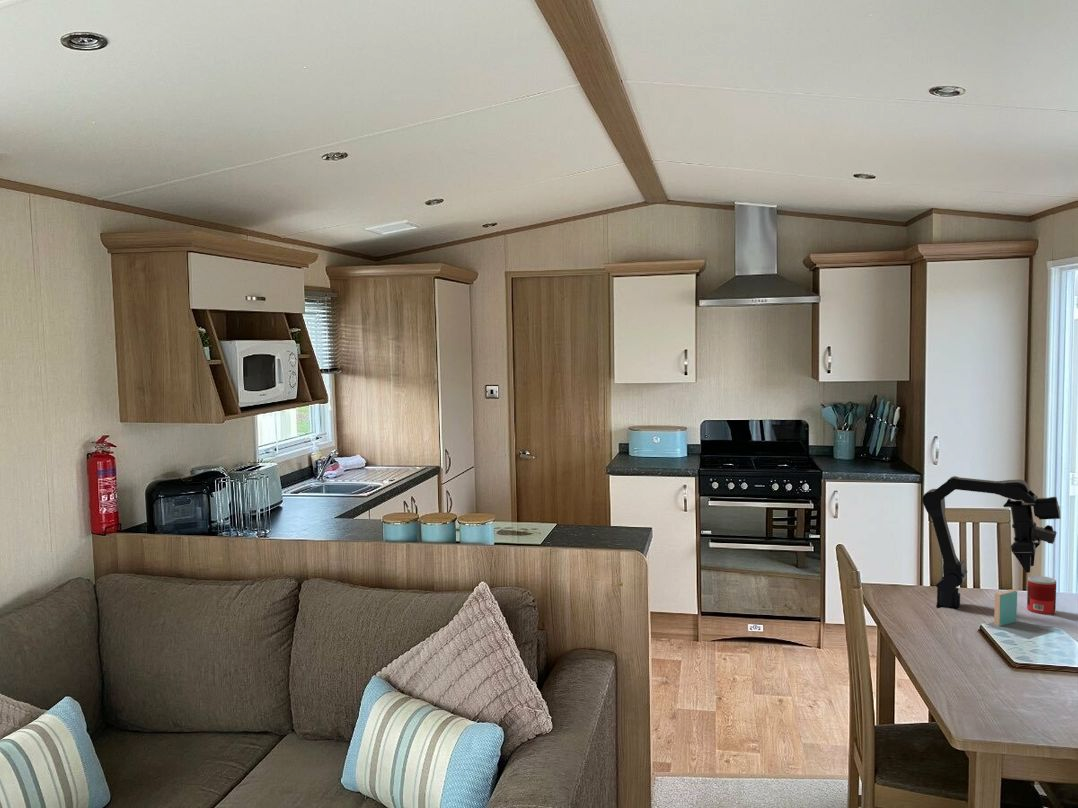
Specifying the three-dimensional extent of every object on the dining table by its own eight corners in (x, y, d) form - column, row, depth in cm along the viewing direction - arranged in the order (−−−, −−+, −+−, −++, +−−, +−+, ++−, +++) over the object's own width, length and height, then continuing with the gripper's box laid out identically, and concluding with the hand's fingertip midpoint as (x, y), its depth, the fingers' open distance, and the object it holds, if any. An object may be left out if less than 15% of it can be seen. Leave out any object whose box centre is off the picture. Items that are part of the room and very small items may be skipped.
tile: (994, 624, 261) (994, 593, 260) (1010, 620, 265) (1011, 589, 264) (1000, 626, 259) (1001, 595, 258) (1016, 622, 263) (1017, 591, 262)
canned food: (1060, 615, 269) (1061, 582, 268) (1035, 616, 269) (1036, 582, 268) (1046, 608, 277) (1047, 575, 276) (1022, 608, 277) (1023, 575, 276)
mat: (985, 625, 262) (985, 624, 262) (1010, 619, 267) (1010, 617, 267) (1028, 640, 249) (1028, 638, 249) (1053, 633, 254) (1054, 631, 254)
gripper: (1049, 524, 253) (1056, 576, 253) (1055, 514, 268) (1062, 562, 268) (1007, 525, 260) (1014, 576, 259) (1016, 515, 275) (1022, 562, 274)
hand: (1030, 569), depth 265 cm, fingers open, 9 cm apart
